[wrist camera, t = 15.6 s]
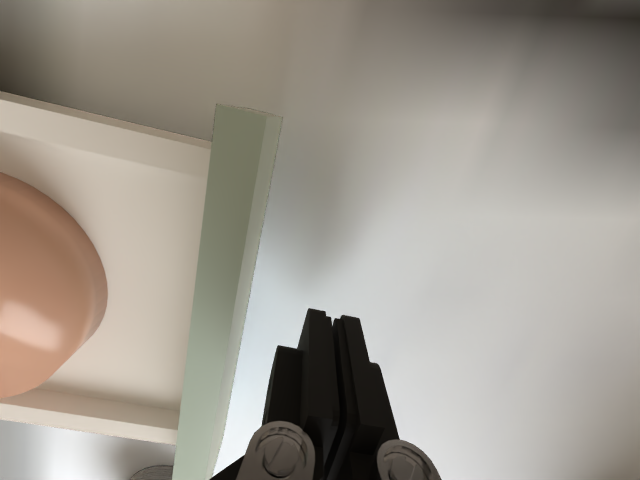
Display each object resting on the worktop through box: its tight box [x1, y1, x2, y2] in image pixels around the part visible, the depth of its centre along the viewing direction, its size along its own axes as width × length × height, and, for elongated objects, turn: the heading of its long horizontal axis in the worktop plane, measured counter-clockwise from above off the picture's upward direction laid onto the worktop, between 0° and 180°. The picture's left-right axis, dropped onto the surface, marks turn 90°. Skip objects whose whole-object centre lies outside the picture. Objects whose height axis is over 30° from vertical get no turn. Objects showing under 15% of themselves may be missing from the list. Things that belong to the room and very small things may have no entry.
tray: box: [0, 91, 283, 480], centre depth 10 cm, size 14×14×4 cm
